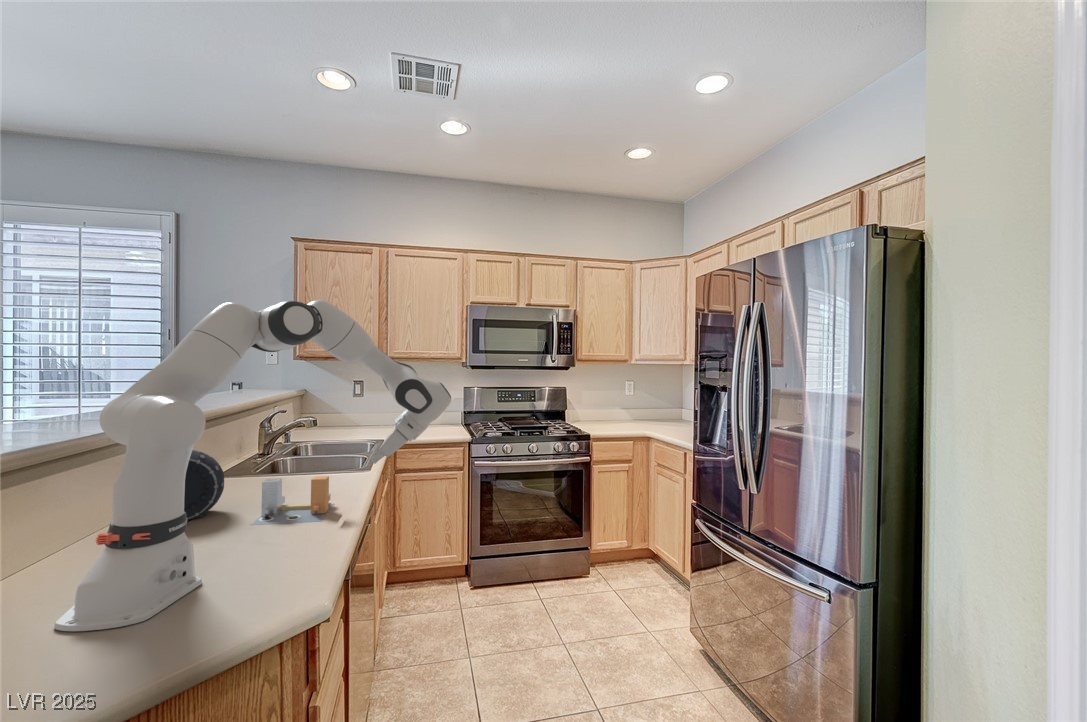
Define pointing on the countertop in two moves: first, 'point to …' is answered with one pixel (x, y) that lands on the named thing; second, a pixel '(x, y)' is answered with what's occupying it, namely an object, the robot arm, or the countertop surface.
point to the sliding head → (319, 494)
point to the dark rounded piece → (202, 484)
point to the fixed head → (272, 497)
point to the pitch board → (294, 515)
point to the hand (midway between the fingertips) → (374, 458)
